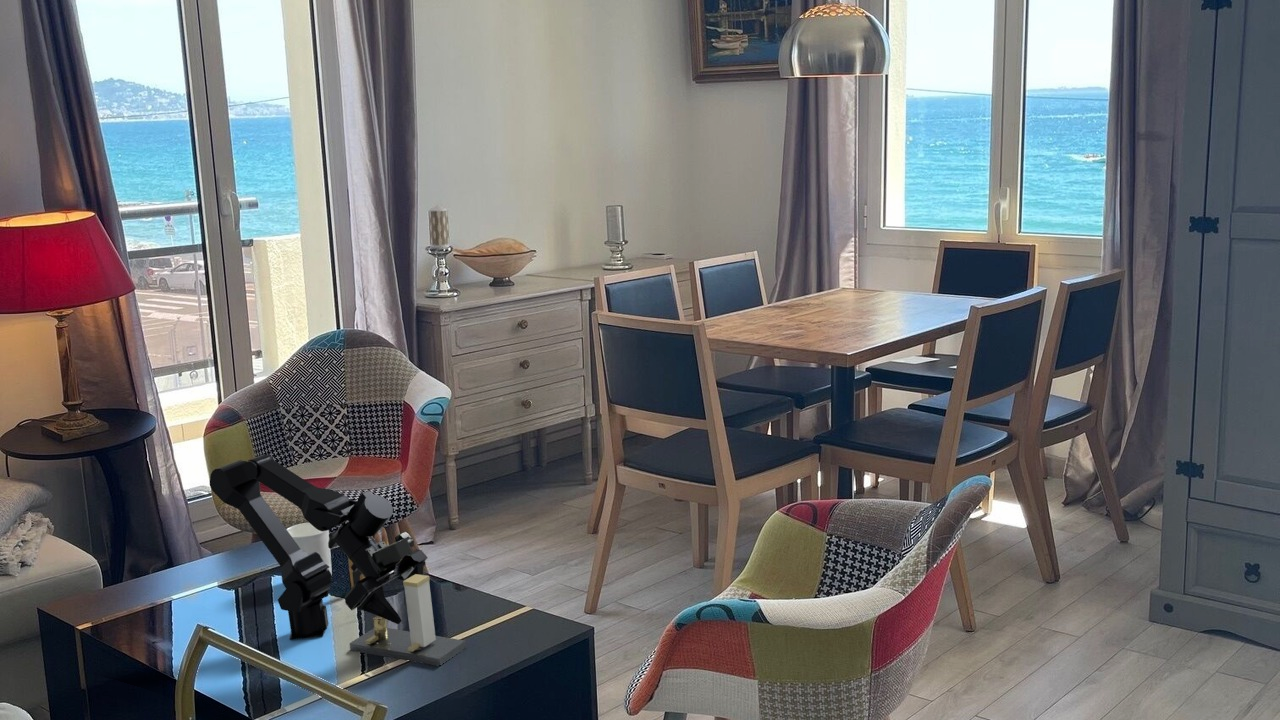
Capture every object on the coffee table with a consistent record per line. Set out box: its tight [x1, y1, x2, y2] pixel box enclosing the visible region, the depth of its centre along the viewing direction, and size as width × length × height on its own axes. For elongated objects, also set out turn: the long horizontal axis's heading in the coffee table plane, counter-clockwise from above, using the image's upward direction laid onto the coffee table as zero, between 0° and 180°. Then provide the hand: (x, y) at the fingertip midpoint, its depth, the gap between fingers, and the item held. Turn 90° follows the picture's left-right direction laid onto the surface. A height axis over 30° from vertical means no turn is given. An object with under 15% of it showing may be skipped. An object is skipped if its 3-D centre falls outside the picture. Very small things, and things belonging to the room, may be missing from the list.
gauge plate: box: [349, 615, 467, 667], centre depth 223 cm, size 21×8×6 cm, turn 63°
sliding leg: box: [402, 574, 436, 652], centre depth 220 cm, size 3×6×13 cm, turn 153°
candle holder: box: [286, 521, 333, 576], centre depth 262 cm, size 10×10×12 cm
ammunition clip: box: [347, 526, 391, 590], centre depth 256 cm, size 11×2×12 cm, turn 139°
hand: (415, 612), depth 221 cm, fingers open, 9 cm apart
